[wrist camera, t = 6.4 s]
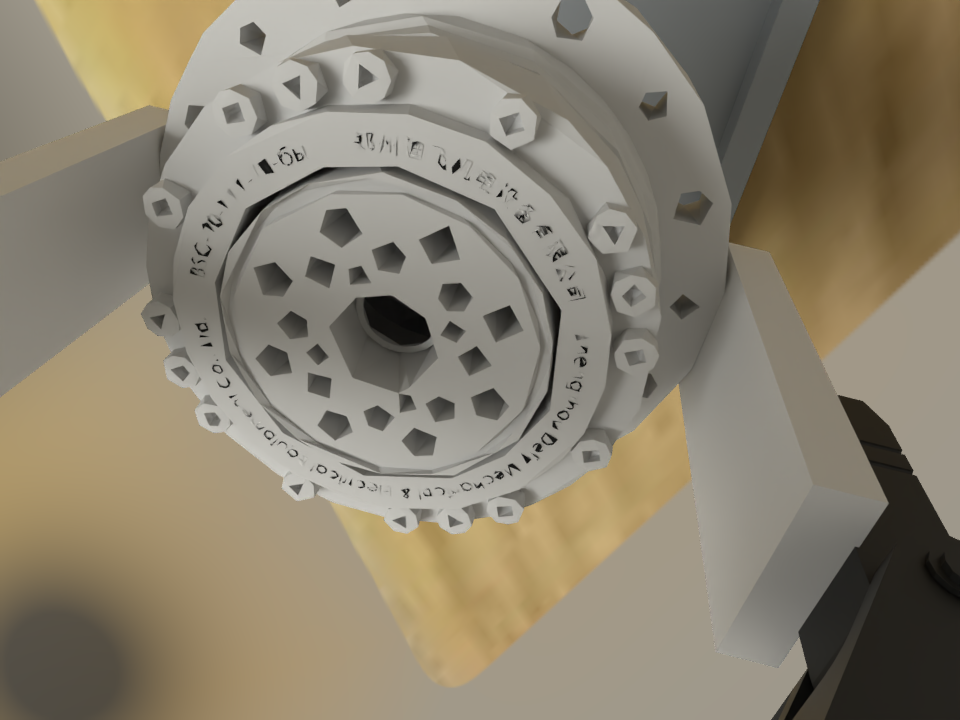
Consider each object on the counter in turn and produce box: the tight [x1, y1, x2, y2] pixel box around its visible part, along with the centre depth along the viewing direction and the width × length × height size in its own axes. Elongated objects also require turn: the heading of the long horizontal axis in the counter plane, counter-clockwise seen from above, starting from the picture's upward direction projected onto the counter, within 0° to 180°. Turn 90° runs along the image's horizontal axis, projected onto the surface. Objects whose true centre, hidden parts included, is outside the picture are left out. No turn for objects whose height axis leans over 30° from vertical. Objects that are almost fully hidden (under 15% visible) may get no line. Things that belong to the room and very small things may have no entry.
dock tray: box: [557, 0, 820, 224], centre depth 25 cm, size 16×16×2 cm
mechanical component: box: [141, 0, 732, 534], centre depth 12 cm, size 10×4×10 cm
